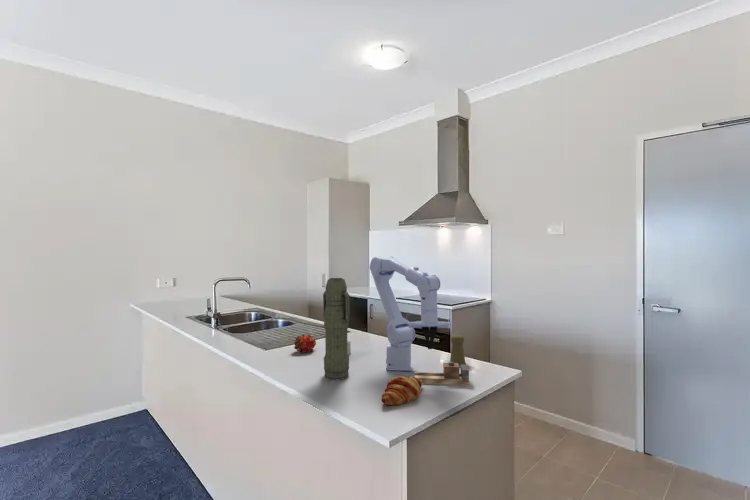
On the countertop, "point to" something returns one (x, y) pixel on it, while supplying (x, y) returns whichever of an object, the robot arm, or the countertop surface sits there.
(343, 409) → the countertop surface
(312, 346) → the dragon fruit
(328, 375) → the thermos
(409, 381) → the croissant
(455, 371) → the carriage
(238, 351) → the countertop surface
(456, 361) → the cork
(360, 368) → the countertop surface
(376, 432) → the countertop surface
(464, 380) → the rail
